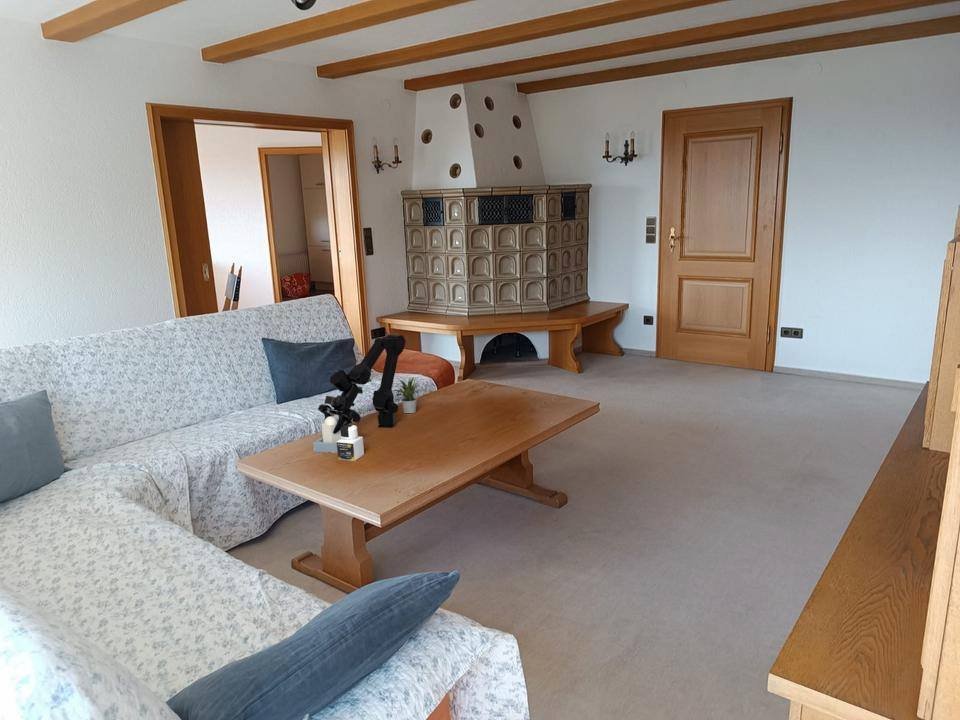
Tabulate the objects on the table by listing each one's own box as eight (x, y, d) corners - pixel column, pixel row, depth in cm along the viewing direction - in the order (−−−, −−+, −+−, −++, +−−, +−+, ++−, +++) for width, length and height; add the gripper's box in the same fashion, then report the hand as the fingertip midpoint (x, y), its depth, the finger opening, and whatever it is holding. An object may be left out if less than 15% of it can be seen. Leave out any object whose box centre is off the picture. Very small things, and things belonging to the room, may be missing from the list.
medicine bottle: (337, 459, 242) (334, 428, 240) (347, 453, 249) (345, 422, 246) (354, 461, 240) (352, 429, 237) (364, 454, 246) (362, 423, 244)
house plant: (398, 407, 307) (396, 373, 304) (427, 407, 305) (425, 372, 302) (390, 416, 293) (387, 380, 290) (420, 416, 291) (418, 380, 288)
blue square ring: (352, 443, 259) (351, 434, 259) (340, 453, 249) (339, 444, 248) (326, 442, 262) (325, 433, 261) (313, 451, 252) (312, 443, 251)
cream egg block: (333, 444, 259) (330, 414, 256) (342, 446, 256) (339, 415, 253) (323, 448, 255) (320, 417, 252) (332, 450, 252) (329, 419, 249)
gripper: (319, 384, 259) (299, 418, 253) (352, 389, 248) (333, 425, 242) (335, 398, 267) (317, 432, 260) (369, 404, 256) (350, 439, 250)
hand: (328, 432), depth 253 cm, fingers closed on cream egg block, 5 cm apart
